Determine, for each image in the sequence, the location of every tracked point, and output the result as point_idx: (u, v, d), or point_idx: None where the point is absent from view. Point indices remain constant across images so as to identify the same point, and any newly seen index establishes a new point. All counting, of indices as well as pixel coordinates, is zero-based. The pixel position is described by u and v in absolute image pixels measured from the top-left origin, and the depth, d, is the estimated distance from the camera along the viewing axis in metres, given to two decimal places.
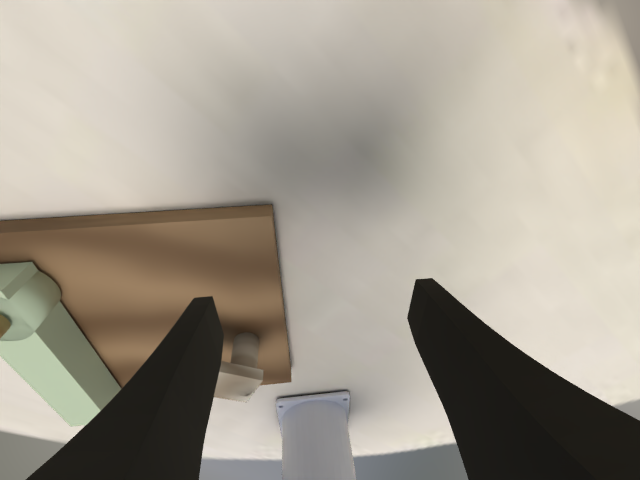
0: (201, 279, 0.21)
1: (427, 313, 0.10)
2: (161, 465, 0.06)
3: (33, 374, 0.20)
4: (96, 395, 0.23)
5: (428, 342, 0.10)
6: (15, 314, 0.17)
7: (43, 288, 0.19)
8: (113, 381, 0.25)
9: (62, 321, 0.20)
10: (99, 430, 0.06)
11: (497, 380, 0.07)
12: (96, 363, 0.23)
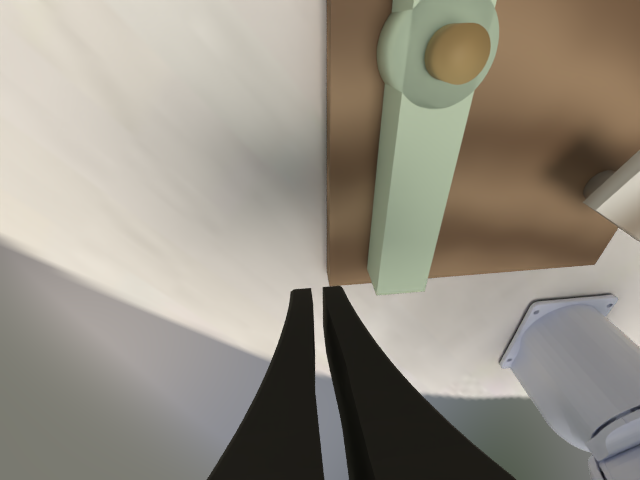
0: (632, 58, 0.15)
1: (327, 322, 0.10)
2: None
3: (407, 186, 0.15)
4: None
5: (330, 352, 0.10)
6: None
7: None
8: None
9: None
10: (268, 411, 0.06)
11: (352, 396, 0.07)
12: None
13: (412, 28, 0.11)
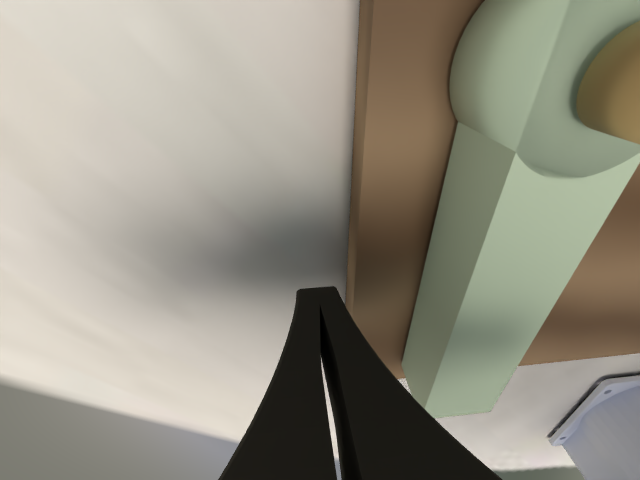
0: None
1: (321, 323, 0.10)
2: None
3: (493, 293, 0.09)
4: None
5: (324, 352, 0.10)
6: None
7: None
8: None
9: None
10: (278, 410, 0.06)
11: (343, 397, 0.07)
12: None
13: (564, 27, 0.05)
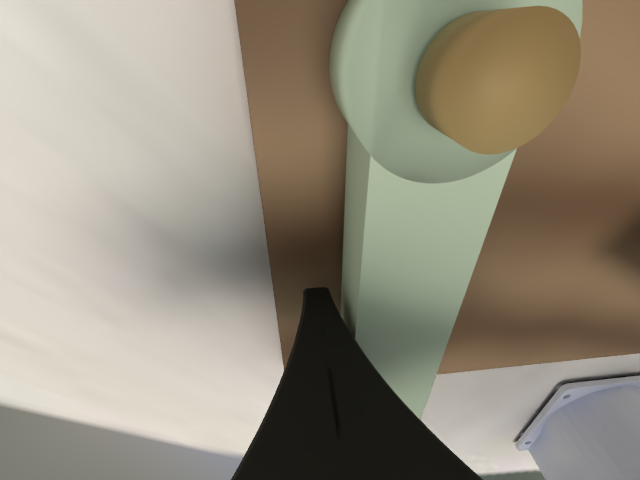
0: None
1: None
2: None
3: (388, 301, 0.08)
4: None
5: None
6: None
7: None
8: None
9: None
10: (289, 409, 0.06)
11: (330, 398, 0.07)
12: None
13: (386, 22, 0.05)
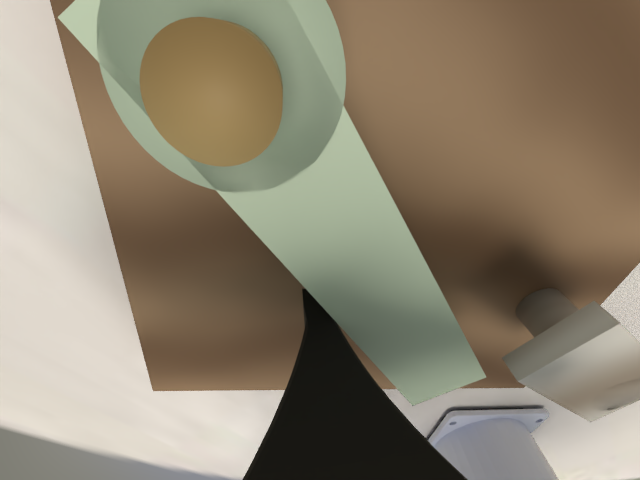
0: (601, 147, 0.10)
1: (305, 324, 0.10)
2: None
3: (346, 290, 0.08)
4: None
5: None
6: (284, 27, 0.05)
7: None
8: None
9: None
10: (299, 407, 0.06)
11: (320, 400, 0.07)
12: None
13: (131, 92, 0.05)
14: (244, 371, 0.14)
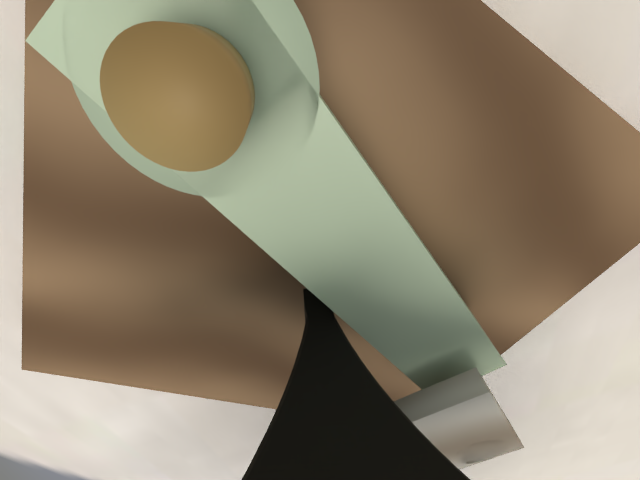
0: (511, 238, 0.11)
1: None
2: None
3: (347, 286, 0.08)
4: (467, 309, 0.10)
5: None
6: (247, 23, 0.05)
7: None
8: None
9: (341, 126, 0.07)
10: (299, 407, 0.06)
11: (321, 399, 0.07)
12: None
13: None
14: (139, 367, 0.13)
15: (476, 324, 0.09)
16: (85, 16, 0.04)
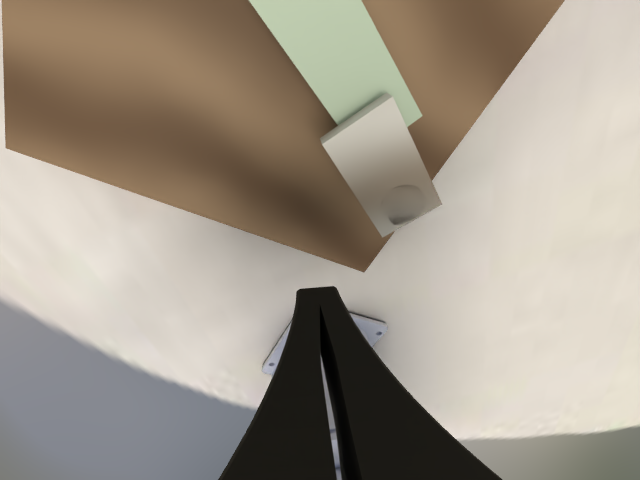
0: (427, 12, 0.13)
1: (321, 323, 0.10)
2: None
3: None
4: None
5: (324, 352, 0.10)
6: None
7: None
8: None
9: None
10: (278, 410, 0.06)
11: (343, 397, 0.07)
12: None
13: None
14: (110, 155, 0.15)
15: (385, 49, 0.11)
16: None
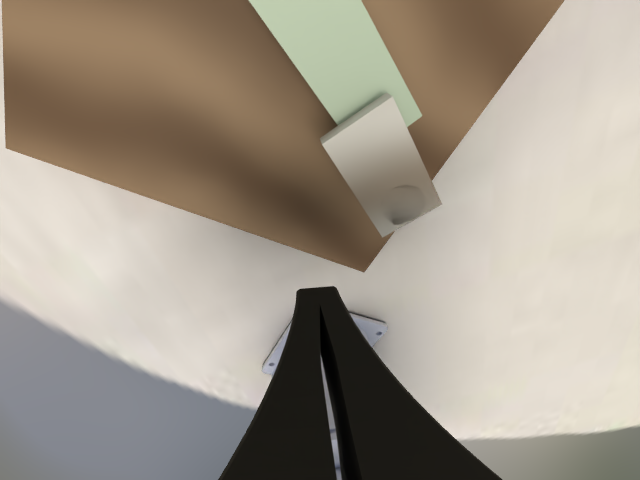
0: (427, 12, 0.13)
1: (321, 323, 0.10)
2: None
3: None
4: None
5: (324, 352, 0.10)
6: None
7: None
8: None
9: None
10: (278, 410, 0.06)
11: (343, 397, 0.07)
12: None
13: None
14: (110, 155, 0.15)
15: (385, 49, 0.11)
16: None
